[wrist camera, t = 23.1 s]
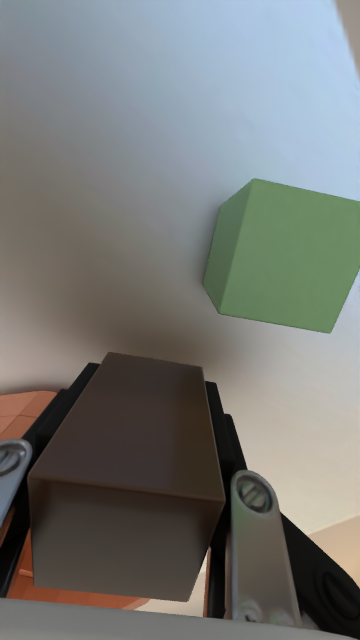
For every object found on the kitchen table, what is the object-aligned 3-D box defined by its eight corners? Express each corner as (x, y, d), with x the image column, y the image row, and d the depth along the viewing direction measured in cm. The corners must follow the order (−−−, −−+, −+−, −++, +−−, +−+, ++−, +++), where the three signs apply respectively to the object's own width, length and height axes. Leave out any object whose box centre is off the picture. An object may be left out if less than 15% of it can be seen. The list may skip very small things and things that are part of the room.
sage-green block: (219, 205, 12) (253, 176, 6) (296, 221, 12) (388, 206, 7) (202, 285, 13) (218, 314, 8) (271, 297, 13) (331, 334, 8)
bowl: (-67, 367, 15) (-184, 427, 10) (192, 405, 16) (197, 475, 11) (-33, 530, 20) (-96, 617, 16) (155, 549, 21) (149, 636, 17)
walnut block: (108, 350, 10) (24, 475, 4) (202, 366, 10) (227, 502, 5) (101, 425, 11) (31, 588, 6) (184, 437, 11) (188, 604, 6)
